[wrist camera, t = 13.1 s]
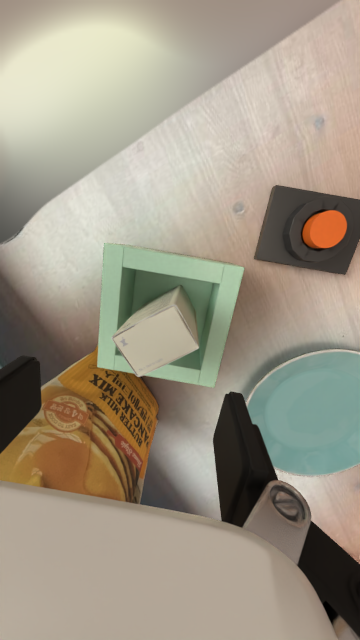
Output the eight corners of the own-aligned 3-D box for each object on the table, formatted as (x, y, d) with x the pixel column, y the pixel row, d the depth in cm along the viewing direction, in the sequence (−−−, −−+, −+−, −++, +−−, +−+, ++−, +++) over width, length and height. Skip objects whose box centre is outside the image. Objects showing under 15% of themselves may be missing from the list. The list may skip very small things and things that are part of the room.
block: (253, 258, 28) (260, 259, 25) (272, 187, 25) (282, 179, 22) (339, 273, 28) (356, 276, 25) (366, 204, 25) (388, 198, 22)
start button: (297, 245, 25) (305, 244, 23) (308, 210, 24) (317, 207, 22) (329, 250, 25) (339, 250, 23) (341, 216, 24) (353, 213, 22)
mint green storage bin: (116, 343, 32) (96, 367, 26) (124, 244, 28) (103, 242, 21) (209, 359, 32) (214, 388, 26) (232, 263, 28) (244, 267, 21)
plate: (420, 363, 31) (442, 374, 28) (345, 474, 38) (357, 491, 35) (269, 323, 30) (276, 331, 28) (220, 443, 37) (222, 458, 34)
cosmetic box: (157, 331, 30) (135, 381, 19) (140, 303, 29) (107, 338, 18) (198, 311, 29) (201, 350, 18) (182, 281, 28) (175, 303, 17)
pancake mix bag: (140, 436, 38) (11, 892, 11) (72, 345, 33) (-435, 750, 6) (174, 421, 36) (122, 900, 10) (108, 325, 32) (-341, 729, 5)
